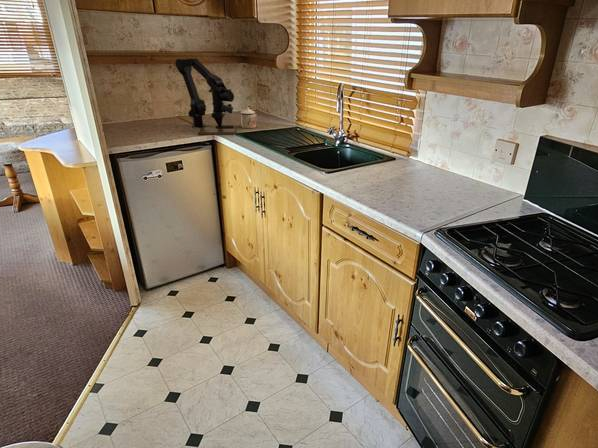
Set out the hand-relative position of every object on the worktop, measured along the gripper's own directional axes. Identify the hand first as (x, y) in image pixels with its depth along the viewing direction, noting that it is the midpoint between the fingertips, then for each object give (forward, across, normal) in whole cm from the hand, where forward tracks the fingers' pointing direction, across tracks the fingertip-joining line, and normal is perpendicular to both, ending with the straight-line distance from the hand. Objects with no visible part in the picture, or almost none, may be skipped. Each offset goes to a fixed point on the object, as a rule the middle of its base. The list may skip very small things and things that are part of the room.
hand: (220, 127), depth 243 cm
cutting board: (+1, -11, 0) cm, 11 cm away
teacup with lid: (+1, +6, -18) cm, 19 cm away
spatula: (+1, 0, +2) cm, 2 cm away
